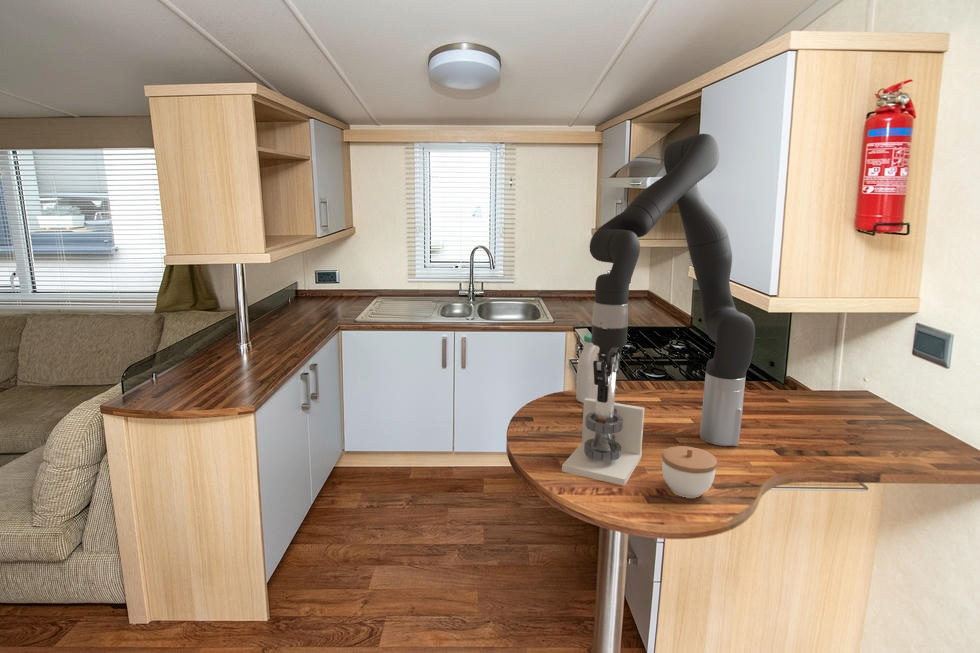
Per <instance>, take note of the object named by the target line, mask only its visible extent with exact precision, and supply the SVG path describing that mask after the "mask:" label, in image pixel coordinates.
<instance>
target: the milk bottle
mask: <svg viewBox="0 0 980 653" xmlns="http://www.w3.org/2000/svg"><path fill="white" fill-rule="evenodd" d="M591 336H592V333H591V334H589V333H588V334H584V336H583V343H584V345H583V348H582V351H581V353H580V355H579V357H578V361H577V369H576V371H577V373H576V390H575V391H576V392H575V398H576V401H577V402H579V403H582V404H584V399H585V398H589V394H590V381H589V375H590V356H591V353H592V351H593V350H594V348H595V345H594V344H592V342H591Z"/></svg>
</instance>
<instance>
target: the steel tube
mask: <svg viewBox="0 0 980 653" xmlns="http://www.w3.org/2000/svg"><path fill="white" fill-rule="evenodd" d="M606 371H607V372H609V370H606ZM601 380H603V378H602V377H601ZM616 381H617V375H616V371H615V370H613V375H612V376H610V381H609V391H608V401H607V402H606V403H603V402H598V401H597V394H598V385H597V392H596V410H595V421H596V422H600V423H613V416H614V403H615V400H616V399H615V398H616ZM593 447H594V449H596V450H600V451H610V450H611V447H612V434H604V433H597V432H594V446H593Z"/></svg>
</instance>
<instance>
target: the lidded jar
mask: <svg viewBox="0 0 980 653" xmlns="http://www.w3.org/2000/svg"><path fill="white" fill-rule="evenodd" d="M661 459H662V462H661V464H662V465H661V471H662V476H663V479H664V482H665V484H666V485H667V486H668V487H669V489H670V490H671V492H672V491H673V492H674V493H675V495H676V496H678V495H679V496H678V497H681V496H682V497H681V498H684V497H686V498H685V499H696V497H698V498H700V497H701V496H702V495H703V494H704V493H706V492H707V491H709V490H710V489H711V486H712V485H713V483H714V480H715V477H716V470H717V469H716V468H717V465H718V459H717V458H716V457H715V456H714V455H713V454H712V453H710V452H708V451H706V450H704V449H702V448H697V447H692V446H685V445H683V446H682V445H681V446H679V445H678V446H677V445H676V446H670V447H667V448H665V449H664V450H663V451H662V454H661ZM673 492H672V493H673ZM674 493H673V494H674ZM701 494H702V495H701ZM700 495H701V496H700ZM699 496H700V497H699Z"/></svg>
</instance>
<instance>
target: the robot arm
mask: <svg viewBox="0 0 980 653" xmlns="http://www.w3.org/2000/svg"><path fill="white" fill-rule="evenodd" d="M720 150H721V149H720V146H719V143H718V141H717V139H716V138H715V137H714V136H712V135H711V134H709V133H697V134H693V135H690V136H687V137H684V138H680V139H676V140H674V141H671V142H670V143H669V144H667V145H666V147H665V149H664V152H663V163H664V164H663V165H664V169H665V173H666V174H664V175H663V176H662V177H661V178H659V179H657V180H656V181H654V182H653V183H651V184H650V185H648V187H646V188H645V189H644V190H642V191H641V192H640V193H639V194H638V195H637V196H636V197H635V198H633V200H632V201H631V202H630V203H629V204H628V205H627V207H626V208H625V209H624V210H623V211H622V212H621V213H618V214H617V215H616V216H614V217H612V218H611V219H610V220H607V222H605V223H604V224H603V225H601V226H600V227H599V228H597V230H596V231H595V232H594V233H593V235H592V237H591V239H590V241H589V253H590V255H591V257H592V258H593V259H595V260H596V261H597V262H602V263H608V264H609V263H610V264H612V267H611V269H610V272H608V273H603V274H600V275H598V276H597V277H596V279H595V290H594V303H593V308H592V318H591V319H592V321H591V334H592V336H591V342H592V344H594V345H595V346H598V347H599V353H597V358H596V360H597V361H595V360H594V362H593V368H594V384H595V385H598V394H597V401H598V402H603V403H606V402H607V401H608V391H609V381H610V376H612V375H613V370H615V371H616V376H618V375H619V369H620V361H621V354H622V349H621V348H623V347H625V346H626V345H627V340H628V328H629V327H628V326H629V325H628V324H629V294H630V291H629V290H630V283H631V281H632V278H633V275H634V271H635V268H636V266H637V262H638V259H639V256H640V254H641V244H640V239H639V238H642V237H644V236H646V235H647V234H649V232H651V230H652V229H653V227H655V225H656V224H657V223H658V222H659V221H660V219H661V218H662V217H663V216H664V215H665V214H666V212H667V211H669V210H670V209H671V207H672V206H674V204H675V203H676V205H677V208H678V211H679V215H680V219H681V222H682V223H681V224H682V226H683V229H684V230H683V231H684V234H685V239H686V244H687V248H688V253H689V257H690V260H691V264H692V268H693V272H694V275H695V279H696V282H697V286H698V290H699V293H700V298H701V305H702V312H703V313H702V314H703V322H704V327H705V331H706V335H707V336H708V338H710V340H711V341H712V342H714V343H715V349H714V354H713V358H711V359H708V360H707V361H706V368H705V377H704V386H703V387H704V388H703V396H702V410H701V418H700V429H699V437H700V439H701V440H703V441H704V442H706V443H709V444H711V445H715V446H724V447H725V446H726V447H728V446H729V447H730V446H733V447H738V446H739V442H740V435H741V427H742V420H743V419H742V418H743V409H744V408H743V407H744V397H745V396H744V394H745V384H746V376H747V371H748V369H749V367H750V365H751V362H752V358H753V352H754V346H755V339H756V327H755V326H756V325H755V323H754V320H753V319H752V318H751V317H750V316H748V315H747V314H745V313H743V312H741V311H738V309H737V308H736V305H735V303H734V298H733V296H732V292H731V286H730V280H731V273H732V267H733V253H732V252H733V251H732V246H731V242H730V237H729V233H728V229H727V227H726V225H725V223H724V222H723V221H722V219H721V218H720V217H719V215H717V213H715V211H714V210H713V209H712V208H711V207H710V206H709V205H708V203H707V202H706V201H705V200H704V198H703V196H702V194H701V192H700V189H699V186H698V183H699V182H700V181H702V180H704V179H705V177H707V176H708V175H709V174H711V173H712V172H713V171H714V170H715V169H716V167H717V166H718V164H719V161H720V158H721V157H720V156H721V151H720ZM606 370H609V372H607V371H606ZM601 377H602V378H603V380H601Z"/></svg>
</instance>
